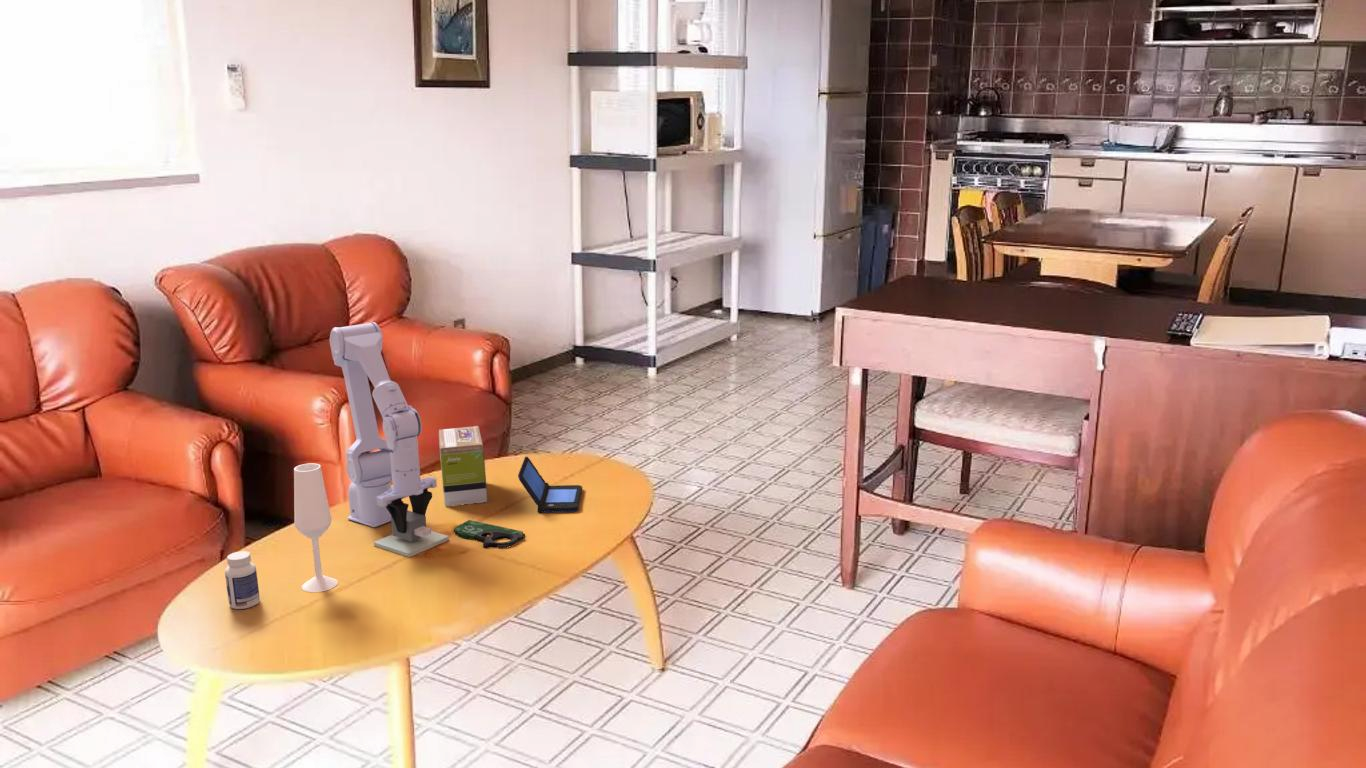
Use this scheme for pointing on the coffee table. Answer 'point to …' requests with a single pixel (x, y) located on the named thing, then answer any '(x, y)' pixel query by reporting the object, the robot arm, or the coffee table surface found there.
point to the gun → (488, 534)
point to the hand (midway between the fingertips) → (410, 528)
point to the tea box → (462, 466)
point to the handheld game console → (548, 491)
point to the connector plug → (412, 527)
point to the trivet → (410, 543)
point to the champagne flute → (312, 518)
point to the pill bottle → (241, 581)
